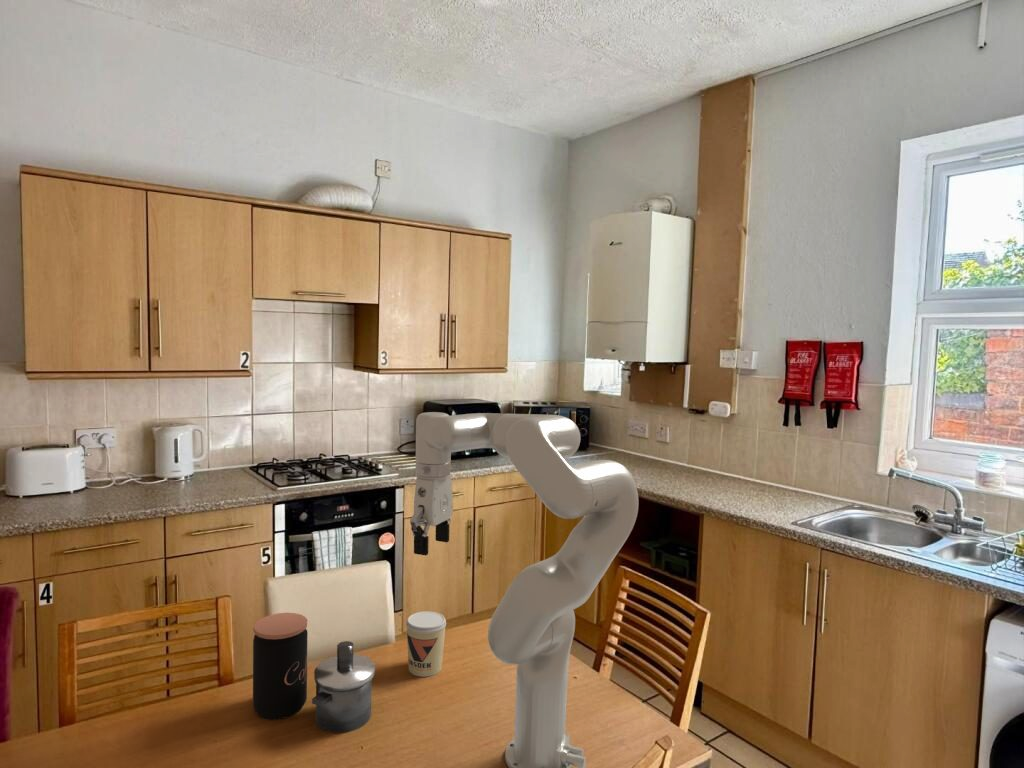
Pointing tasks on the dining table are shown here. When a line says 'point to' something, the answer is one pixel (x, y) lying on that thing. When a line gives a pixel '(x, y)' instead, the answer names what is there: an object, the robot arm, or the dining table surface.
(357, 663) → the lid
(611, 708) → the dining table surface
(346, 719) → the pot
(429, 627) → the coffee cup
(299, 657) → the coffee jar
